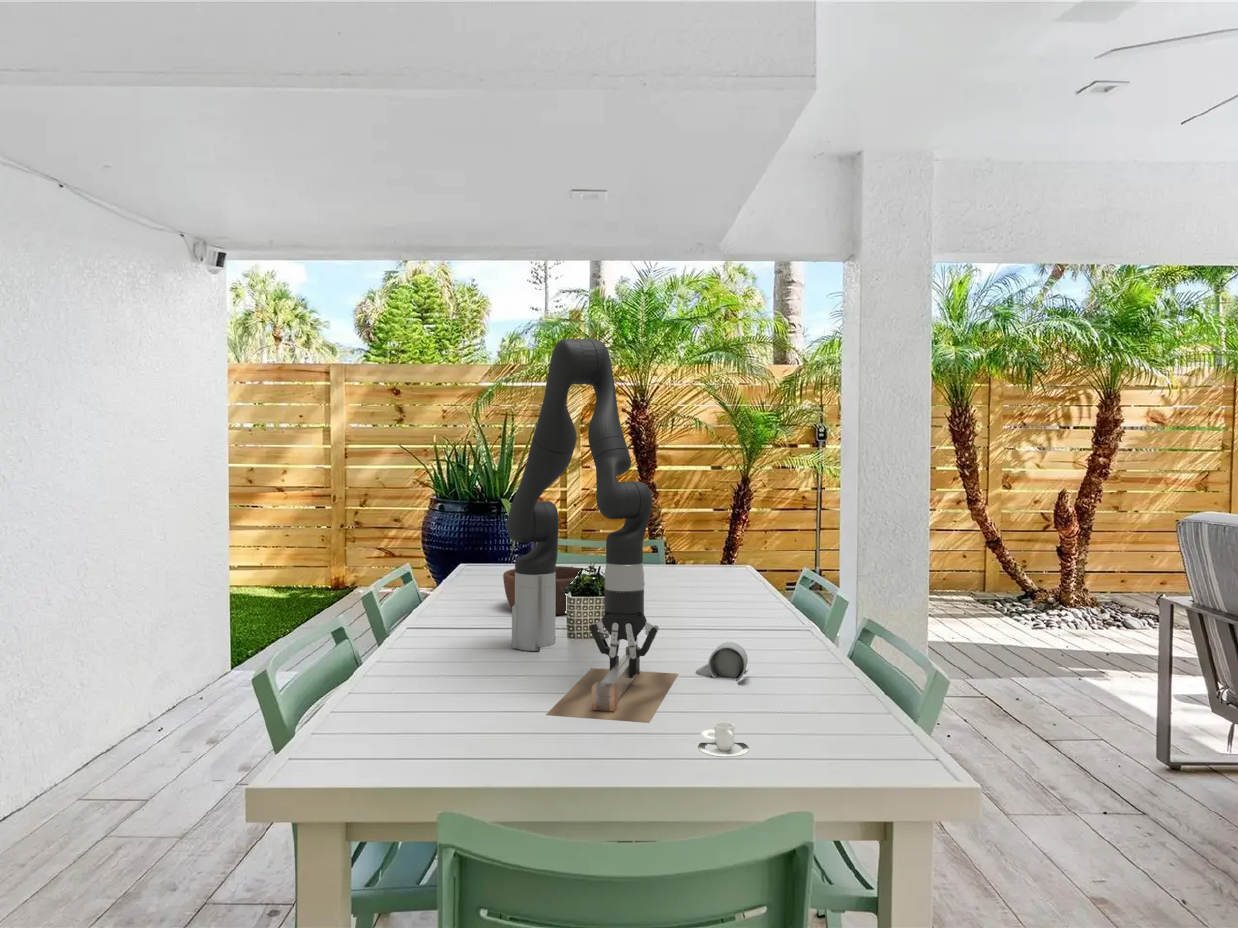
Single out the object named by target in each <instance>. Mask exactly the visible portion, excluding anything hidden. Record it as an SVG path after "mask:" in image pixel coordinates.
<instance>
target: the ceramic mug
mask: <svg viewBox="0 0 1238 928" xmlns="http://www.w3.org/2000/svg"><path fill="white" fill-rule="evenodd" d="M748 663H749V661H748V654H747V652H746V650H745V649H744V647H742V646H741V645H740V644H738V643H735V642H733V641H732V642H731V641H729V642H723V643H721V644H720V645H719V646H717V647H716V649H715V650H713V652H711V655H710V656H709V659H708V662H707V664H705V665H703V666H701V667H699V668H697V669H696V670H695V673H696V675H700V676H703V677H709V676H711V677H712V678H713V679H717V676H718V675H719V676H721V677H726V678H727V677H729V678H737V677H738V678H737V679H735V682H736V683H737V682H739V680H741V679H742V678H743V676H744V675H745V672H746V669H747V666H748Z"/></svg>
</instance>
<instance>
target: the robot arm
mask: <svg viewBox="0 0 1238 928" xmlns="http://www.w3.org/2000/svg"><path fill="white" fill-rule="evenodd" d="M612 365H613V364H612V360H611V356H610V352H609V350H608V348H607V346H606V345H605V343H604V342H603V341H602V340H600V339H592V338H591V339H590V338H561V339H560V340H559V341H557V343H556V344H555V346H554V348H553V351H552V354H551V357H550V362H549V367H548V372H547V377H546V378H547V379H546V384H545V389H544V390H545V391H544V395H543V396H544V397H543V401H542V404H541V408H540V412H539V415H538V419H537V423H536V426H535V429H534V432H533V436H532V439H531V443H530V447H529V450H528V456H527V459H526V462H525V463H526V464H525V466H524V470H523V474H522V476H521V480H520V482H519V484H518V488H517V490H516V492H515V495H514V497H513V500H512V501H511V505H510V508H509V511H508V516H507V522H506V523H507V524H506V528H507V529H506V530H507V534H508V537H509V538H510V539H511V540H512V541H514V542H516V543H527V544H528V543H536V545H535V547H534V548H533V549H532V550H531V551H529V552H527V553H526V554H524V555H522V556H519V557H518V558H517V559H515V563H514V569H515V605H514V606H512V608H511V648H512V649H518V650H520V651H527V652H529V651H531V652H538V651H539V652H540V651H541V648H546V647H551V646H554V645H555V644H556V615H555V609H556V585H555V584H556V572H555V571H556V566H557V560H558V547H559V546H558V545H559V532H560V531H559V528H560V522H559V521H560V520H559V519H560V516H559V512H558V508H557V506H556V504H555V503H554V502H553V501H550V500H549V501H548V500H544V501H543V500H541V501H540V500H539V498H540V496H541V495H543V493H544V492H545V491H546V490H547V489H548V488H549V487H550V486H551V485H553V483H554V482H556V480H558V479H559V477H560V476H562V475H563V474H564V472H565V471H566V470H567V469H568V467H569V466H570V464H571V461H572V457H573V454H574V451H575V448H576V444H577V439H578V436H577V431H576V427H575V424H574V422H573V419H572V417H571V414H570V412H569V409H568V405H567V400H568V394H569V390H570V388H571V386H572V385H584V386H585V385H589V386H592V389H593V391H594V393H595V394H594V395H595V405H594V410H593V413H592V416H591V419H590V422H589V426H588V430H587V431H588V432H587V438H588V439H587V441H588V445H589V449H590V452H591V456H592V460H593V462H594V466H595V472H596V473H595V475H596V477H595V478H596V491H595V492H596V505H597V508H598V510H599V512H600V514H601V515H602V516H603V517H605V518H606V519H607V520H623V519H624V520H625V521H624V524H623V525H622V527H621V528H620V529H618V530H617V529H616V530H614V531H611V532H609V534H607V536H606V542H605V548H606V549H605V561H606V563H605V571H604V613H603V616H602V619H601V620H600V621H598V622H593V623H592V624H590V625H589V631H590V633H591V635H592V637H593V639H594V641H595V644H596V645H597V647H598V650H599V652H600V654H602V655H606V656H607V657H609V669H610V671H611V669H612V668H613V667H614V666H615V665H616V664H617V663H618V662H619V660H620V656H619V655H618V654H619V650H620V649H619V648H620V644H621V640H625V641H627V647H629V651H630V659H629V678H634V676H635V675H636V674H637V672H638V657H640V658H641V657H645V656H646V655H647V653H648V652H649V650H650V648H651V646H652V644H653V642H654V640H655V638H656V636H657V634H658V633H659V630H660V628H659V626H658V625H653V624H652V623H650V622H647V618H646V616H645V584H646V583H645V572H644V561H643V560H644V559H643V558H644V554H643V553H644V552H643V549H644V539H645V536H646V531H647V527H648V523H649V521H650V517H651V512H652V510H653V509H652V508H653V497H652V493H651V492H652V491H651V489H650V488H649V486H648V485H647V484H646V483H644V482H641V481H619V480H618V478H617V477H619V476H622V475H623V474H625V473H627V472H628V471H629V470H630V469H631V467H632V459H631V455H630V450H629V448H628V445H627V442H626V439H625V435H624V432H623V427H622V425H621V420H620V416H619V408H618V402H617V394H616V386H615V379H614V373H613V366H612ZM538 500H539V501H538ZM604 628H605V629H606V631H607V633H608V634H609V635H610V641H609V643H608V641H606V638H605V636H604V633H603V632H604ZM643 629H645V632H644V634H645V635H646V638H645V640H644V642H643V644H642V645H641V648H640V649H638V647H639V645H638V644H639V642H638V641H639V640H638V635H639V634H640V633H641V632H642V630H643ZM608 644H610V646H609V645H608Z"/></svg>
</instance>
